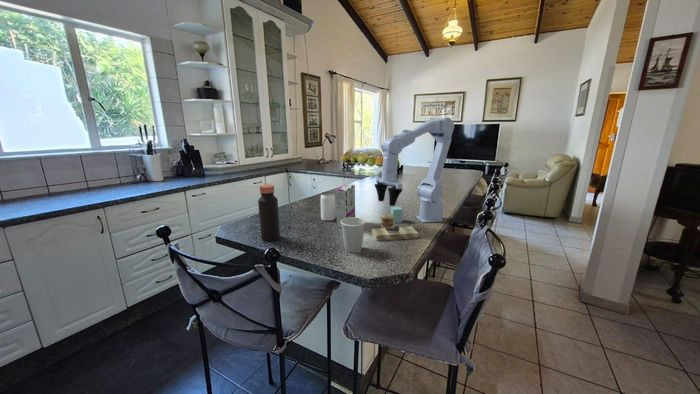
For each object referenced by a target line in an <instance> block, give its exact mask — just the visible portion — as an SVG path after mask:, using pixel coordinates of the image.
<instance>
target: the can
mask: <svg viewBox="0 0 700 394" xmlns="http://www.w3.org/2000/svg"><path fill="white" fill-rule="evenodd" d="M320 194H321V195H320V220H321V221H324V222H331V221H335V220H336V194H335V193H334V192H333V191H325V192H321V193H320Z"/></svg>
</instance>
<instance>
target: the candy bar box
mask: <svg viewBox="0 0 700 394" xmlns="http://www.w3.org/2000/svg"><path fill="white" fill-rule="evenodd" d="M355 187H356V185H355V184H351V183H350V184H348V183H347V184H346V183H345V184H343V185H342V186H339V187H338V188H337V189H335V215H336V228H338V229H342V224H341V220H343V219H345V218H350V217H356V188H355Z"/></svg>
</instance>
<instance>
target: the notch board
mask: <svg viewBox="0 0 700 394" xmlns="http://www.w3.org/2000/svg"><path fill="white" fill-rule="evenodd" d="M398 229H399V230H398V232H399V233H398V232H397V233H395V232H394V233H389V232H388V230H386V229H385V228H378V227H377V228H371V234H372V236H373V238H374V239H375V240H376V241H390V240H391V241H393V240H405V239H406V240H408V239H409V240H410V239H418V238H419V232H418V231H417V230H416V229H415V228H413V226H400V227H398Z"/></svg>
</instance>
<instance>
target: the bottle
mask: <svg viewBox="0 0 700 394" xmlns="http://www.w3.org/2000/svg"><path fill="white" fill-rule="evenodd" d="M259 193H260V197H259V198H258V200H257V204H258V205H257V206H258V213H259V214H258V215H259V226H260V237H261V240H262V241H263V242H275V241H277V240H279V239H280V238H281V228H280V215H279V201H278V200H279V199H278V198H277V197H276V196H275V195H274V194H275V186H274V185H273V184H263V185H260V186H259Z"/></svg>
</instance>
